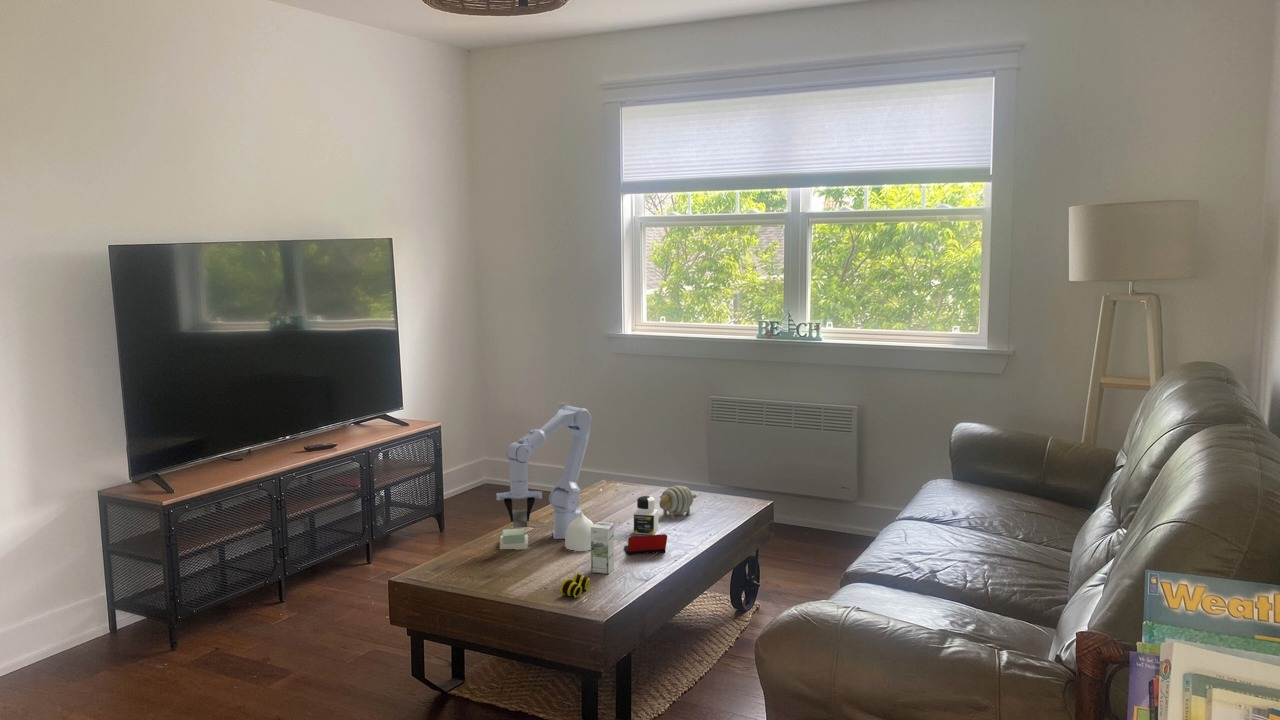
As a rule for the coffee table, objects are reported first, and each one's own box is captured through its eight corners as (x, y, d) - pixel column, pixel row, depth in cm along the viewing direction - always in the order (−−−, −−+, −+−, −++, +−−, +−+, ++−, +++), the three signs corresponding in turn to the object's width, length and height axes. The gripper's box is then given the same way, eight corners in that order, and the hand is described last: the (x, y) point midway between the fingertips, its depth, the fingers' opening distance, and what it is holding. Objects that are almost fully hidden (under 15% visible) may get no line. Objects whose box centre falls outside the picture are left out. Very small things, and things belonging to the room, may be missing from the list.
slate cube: (526, 522, 293) (526, 509, 292) (527, 527, 288) (526, 513, 288) (513, 523, 292) (512, 510, 292) (513, 527, 288) (512, 514, 287)
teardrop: (577, 539, 300) (577, 504, 299) (604, 544, 295) (604, 509, 293) (557, 548, 291) (557, 512, 290) (586, 554, 285) (585, 517, 284)
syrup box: (614, 568, 272) (614, 522, 270) (608, 575, 266) (608, 527, 264) (596, 566, 273) (596, 520, 272) (590, 573, 268) (589, 526, 266)
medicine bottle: (633, 533, 306) (633, 499, 304) (638, 527, 313) (638, 494, 311) (653, 535, 304) (653, 500, 303) (658, 528, 311) (658, 495, 310)
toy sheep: (651, 516, 325) (651, 487, 324) (683, 507, 337) (683, 479, 335) (671, 523, 318) (671, 492, 316) (704, 513, 329) (704, 484, 328)
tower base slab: (527, 541, 299) (527, 534, 299) (527, 550, 290) (527, 543, 290) (500, 543, 298) (500, 535, 298) (499, 551, 289) (499, 544, 289)
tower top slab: (524, 535, 298) (524, 528, 297) (524, 542, 291) (524, 535, 290) (503, 536, 297) (503, 529, 296) (503, 543, 290) (502, 536, 289)
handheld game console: (661, 546, 293) (661, 524, 292) (667, 557, 283) (667, 534, 282) (623, 548, 291) (623, 526, 290) (628, 559, 281) (628, 536, 280)
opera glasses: (575, 602, 248) (578, 586, 247) (558, 596, 250) (561, 580, 249) (590, 590, 257) (593, 574, 256) (574, 584, 258) (576, 568, 257)
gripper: (496, 483, 284) (497, 525, 285) (541, 481, 286) (542, 523, 287) (496, 478, 291) (497, 518, 292) (541, 476, 293) (542, 516, 294)
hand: (519, 520), depth 290 cm, fingers closed on slate cube, 4 cm apart
